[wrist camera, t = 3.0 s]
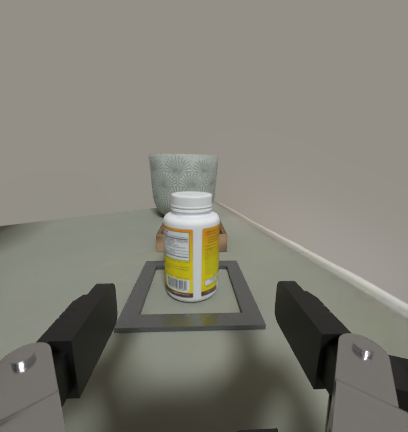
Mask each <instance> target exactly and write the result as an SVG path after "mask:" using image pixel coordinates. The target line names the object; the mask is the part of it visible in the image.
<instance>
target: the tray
mask: <svg viewBox="0 0 408 432" xmlns="http://www.w3.org/2000/svg"><path fill="white" fill-rule="evenodd" d="M156 245H157V252H164V229H163V223H162V225H161V227H160V229H159V231H158V233H157V235H156ZM219 251H227V234H226V232H225V230H224V228H223V225H222V223H221V221H220V231H219Z"/></svg>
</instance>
